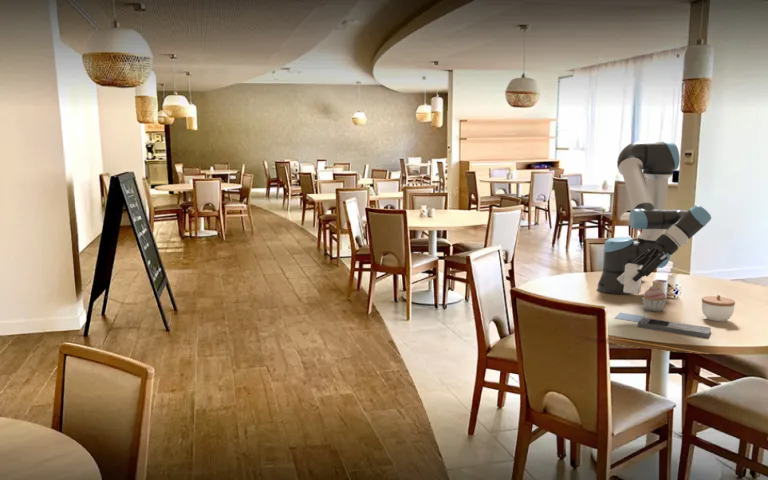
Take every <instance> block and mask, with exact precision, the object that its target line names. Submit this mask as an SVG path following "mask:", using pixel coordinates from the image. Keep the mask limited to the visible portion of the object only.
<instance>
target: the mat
mask: <svg viewBox="0 0 768 480" xmlns="http://www.w3.org/2000/svg"><path fill="white" fill-rule="evenodd" d="M642 318H646V315H639V314H633V313H628V312H627V313H626V312H619V313H618V314H617V315H616V316H615V317H614V320H615V319H617V320H621V321H628V322H636V323H638V322H639V321H640V320H641V319H642Z"/></svg>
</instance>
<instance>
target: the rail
mask: <svg viewBox="0 0 768 480" xmlns="http://www.w3.org/2000/svg"><path fill="white" fill-rule="evenodd" d="M637 328H641V329H646V330H647V329H648V330H653V331H654V330H655V331H660V332H661V331H662V332H666V333H674V334H679V335H686V336H692V337H698V338H704V339H708V338H709V336H710V334H711V330H712V329H711V327H710V326H702V325H695V324H689V323H680V322H675V321H669V320H661V319H653V318H648V317H644V318H642V319H641V320H640V321H639V322H637Z"/></svg>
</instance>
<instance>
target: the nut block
mask: <svg viewBox="0 0 768 480" xmlns="http://www.w3.org/2000/svg"><path fill="white" fill-rule="evenodd" d="M641 268H642V265H640V264H630V263H628V264H626V265H625V273H624V282H625V281H626V280H627V279H629V278H630V277H631V276H632V275H633V274H634V273H635V272H636V271H637V269H641ZM642 278H643V277H642ZM642 278H641V279H640V280H639V281H637V282H636V283H635V284H634V285H633V286H632V287H631V288H629V289H628V288H627V287H626V286H625V285H624V290H623V292H626V293H631V294H635V295H638V294H639V293H641V291H642V290H641V288H642Z"/></svg>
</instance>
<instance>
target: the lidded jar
mask: <svg viewBox="0 0 768 480" xmlns="http://www.w3.org/2000/svg"><path fill="white" fill-rule="evenodd" d="M735 304H736V301H735V300H734V299H731V298H728V297H724V296H721V295H720V294H719V295H718V294H717V295H715V296H714V295H708V296H703V297H702V298H701V310H702V313H703V315H704V317H706V320H708V321H715V322H721V323H726V322H727V321H728V320H729V319H730V318H731V317H732V316H733V314H734V310H735Z"/></svg>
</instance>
